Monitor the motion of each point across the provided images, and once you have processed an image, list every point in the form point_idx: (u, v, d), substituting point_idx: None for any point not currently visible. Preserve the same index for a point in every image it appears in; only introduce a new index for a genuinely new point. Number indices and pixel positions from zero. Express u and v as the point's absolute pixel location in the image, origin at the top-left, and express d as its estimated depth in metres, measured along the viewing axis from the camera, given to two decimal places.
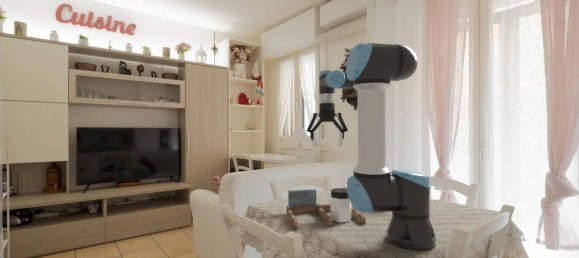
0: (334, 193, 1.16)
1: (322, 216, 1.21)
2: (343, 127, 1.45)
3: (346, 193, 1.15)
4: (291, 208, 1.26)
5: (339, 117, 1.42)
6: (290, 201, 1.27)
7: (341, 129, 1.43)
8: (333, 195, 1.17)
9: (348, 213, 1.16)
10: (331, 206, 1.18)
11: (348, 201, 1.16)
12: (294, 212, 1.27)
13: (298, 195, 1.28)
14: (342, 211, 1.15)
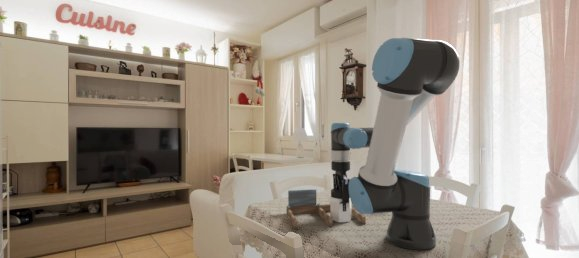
0: (334, 193, 1.16)
1: (322, 216, 1.21)
2: None
3: None
4: (291, 208, 1.26)
5: (342, 183, 1.14)
6: (290, 201, 1.27)
7: None
8: (333, 195, 1.17)
9: (348, 213, 1.16)
10: (331, 206, 1.18)
11: None
12: (294, 212, 1.27)
13: (298, 195, 1.28)
14: (342, 211, 1.15)
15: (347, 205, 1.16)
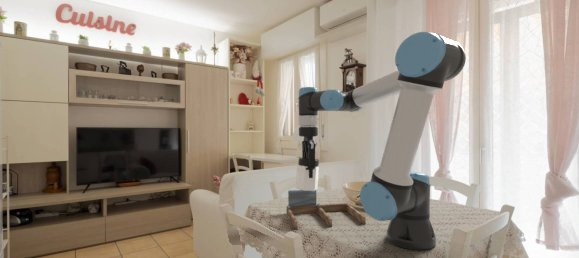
0: (301, 160, 1.14)
1: (322, 216, 1.21)
2: None
3: None
4: (291, 208, 1.26)
5: (308, 148, 1.11)
6: (290, 201, 1.27)
7: None
8: (300, 162, 1.15)
9: (313, 182, 1.13)
10: (297, 174, 1.16)
11: (314, 169, 1.13)
12: (294, 212, 1.27)
13: (298, 195, 1.28)
14: (307, 179, 1.13)
15: (313, 173, 1.13)
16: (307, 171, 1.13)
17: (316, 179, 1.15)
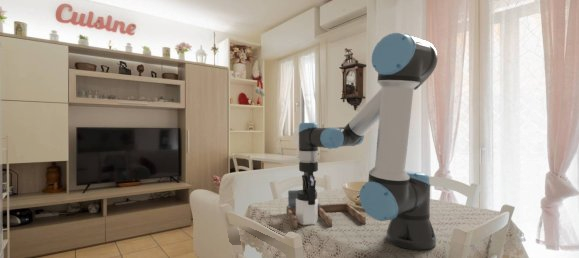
0: (299, 195, 1.14)
1: (322, 216, 1.21)
2: None
3: None
4: (291, 208, 1.26)
5: (308, 184, 1.12)
6: (290, 201, 1.27)
7: None
8: (298, 197, 1.14)
9: (313, 215, 1.13)
10: (296, 208, 1.16)
11: None
12: (294, 212, 1.27)
13: None
14: (307, 213, 1.13)
15: (312, 207, 1.13)
16: (306, 206, 1.13)
17: (315, 212, 1.15)
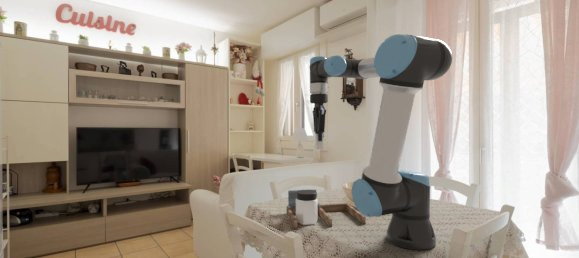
0: (299, 195, 1.14)
1: (322, 216, 1.21)
2: None
3: (311, 195, 1.13)
4: (291, 208, 1.26)
5: (319, 113, 1.21)
6: (290, 201, 1.27)
7: (317, 129, 1.24)
8: (298, 197, 1.15)
9: (313, 215, 1.13)
10: (296, 208, 1.16)
11: (313, 203, 1.13)
12: (294, 212, 1.27)
13: None
14: (307, 213, 1.13)
15: (312, 207, 1.13)
16: (306, 205, 1.13)
17: (315, 212, 1.15)
